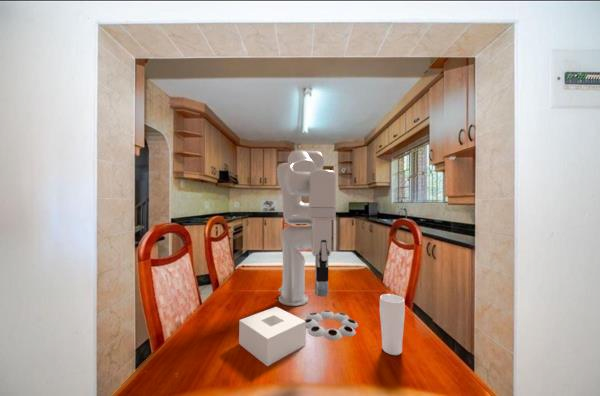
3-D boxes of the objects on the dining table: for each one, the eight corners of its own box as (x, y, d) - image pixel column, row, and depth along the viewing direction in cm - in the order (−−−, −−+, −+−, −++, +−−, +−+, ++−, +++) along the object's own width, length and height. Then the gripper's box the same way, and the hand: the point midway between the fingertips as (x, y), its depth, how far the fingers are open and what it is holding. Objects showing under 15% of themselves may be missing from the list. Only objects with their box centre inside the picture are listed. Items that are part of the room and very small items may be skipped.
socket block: (239, 343, 74) (239, 320, 74) (276, 327, 84) (276, 306, 84) (267, 366, 64) (267, 338, 64) (305, 344, 74) (305, 321, 74)
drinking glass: (375, 344, 74) (376, 293, 75) (397, 343, 75) (397, 293, 75) (385, 358, 68) (385, 303, 68) (409, 357, 68) (409, 302, 68)
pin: (312, 294, 70) (312, 251, 70) (320, 290, 73) (321, 249, 73) (322, 297, 68) (322, 253, 68) (330, 294, 70) (330, 251, 70)
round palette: (325, 308, 100) (325, 303, 100) (369, 326, 86) (369, 320, 86) (289, 325, 87) (289, 319, 87) (334, 349, 73) (335, 342, 73)
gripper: (307, 212, 79) (307, 270, 79) (310, 215, 62) (309, 289, 62) (331, 212, 79) (330, 270, 79) (340, 215, 62) (339, 289, 62)
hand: (321, 278), depth 70 cm, fingers closed on pin, 3 cm apart
